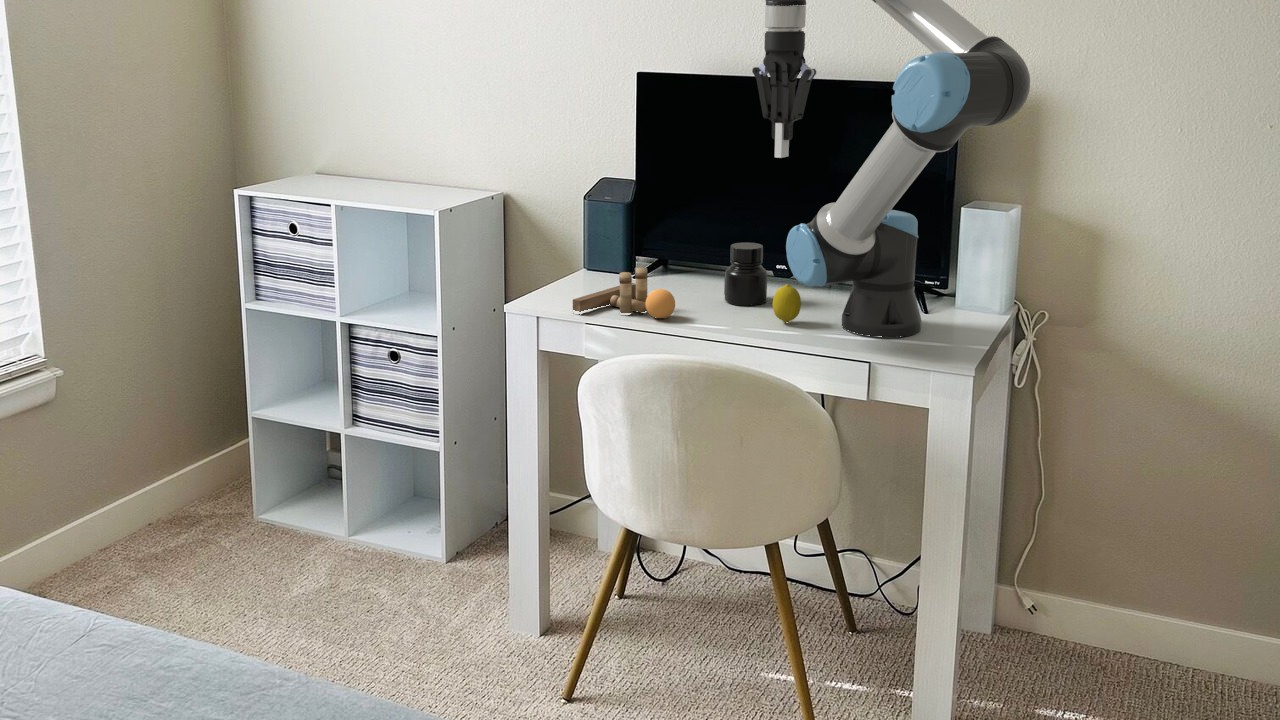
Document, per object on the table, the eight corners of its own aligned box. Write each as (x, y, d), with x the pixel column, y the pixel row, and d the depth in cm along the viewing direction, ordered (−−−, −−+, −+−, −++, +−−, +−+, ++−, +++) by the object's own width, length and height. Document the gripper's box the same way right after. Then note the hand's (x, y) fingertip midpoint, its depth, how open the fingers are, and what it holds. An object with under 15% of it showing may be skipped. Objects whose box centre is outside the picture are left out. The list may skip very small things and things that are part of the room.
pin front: (649, 301, 238) (618, 294, 244) (641, 302, 236) (610, 295, 242) (648, 313, 239) (617, 306, 244) (640, 314, 237) (609, 307, 242)
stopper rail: (636, 297, 250) (636, 283, 250) (580, 315, 237) (579, 301, 236) (629, 296, 252) (629, 282, 251) (572, 313, 239) (572, 299, 238)
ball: (654, 304, 239) (677, 319, 236) (636, 313, 235) (659, 327, 232) (661, 280, 236) (684, 294, 233) (643, 288, 231) (666, 302, 229)
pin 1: (634, 313, 238) (634, 273, 236) (626, 316, 236) (626, 275, 234) (625, 311, 240) (624, 271, 237) (617, 314, 238) (616, 273, 235)
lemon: (796, 328, 227) (798, 288, 225) (769, 325, 229) (770, 286, 227) (803, 321, 232) (804, 282, 230) (775, 318, 234) (777, 279, 232)
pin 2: (650, 308, 242) (650, 268, 239) (642, 311, 240) (642, 271, 237) (640, 306, 243) (640, 267, 241) (633, 309, 242) (632, 269, 239)
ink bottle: (759, 294, 252) (760, 240, 249) (774, 304, 244) (776, 248, 241) (716, 298, 250) (717, 243, 246) (731, 308, 242) (732, 251, 238)
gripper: (825, 29, 217) (820, 157, 224) (766, 28, 225) (763, 152, 232) (805, 31, 211) (800, 161, 218) (744, 30, 219) (742, 156, 226)
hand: (781, 156), depth 225 cm, fingers closed
